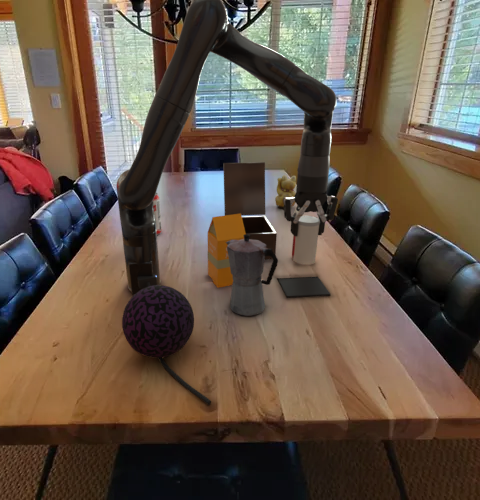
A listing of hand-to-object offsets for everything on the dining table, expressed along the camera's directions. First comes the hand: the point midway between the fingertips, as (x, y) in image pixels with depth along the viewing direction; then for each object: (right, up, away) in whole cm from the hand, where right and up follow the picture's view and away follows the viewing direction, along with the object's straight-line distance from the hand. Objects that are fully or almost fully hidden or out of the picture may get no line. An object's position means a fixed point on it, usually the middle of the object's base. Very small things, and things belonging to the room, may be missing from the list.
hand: (306, 234), depth 100 cm
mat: (0, -14, +6) cm, 16 cm away
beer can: (-48, +2, +47) cm, 67 cm away
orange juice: (-21, -13, +11) cm, 27 cm away
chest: (-12, -5, +29) cm, 32 cm away
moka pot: (-16, -19, -4) cm, 25 cm away
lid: (-13, +17, +32) cm, 38 cm away
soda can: (+4, -8, +21) cm, 23 cm away
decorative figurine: (+10, +16, +76) cm, 78 cm away
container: (0, -7, +3) cm, 8 cm away
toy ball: (-37, -26, -19) cm, 49 cm away
